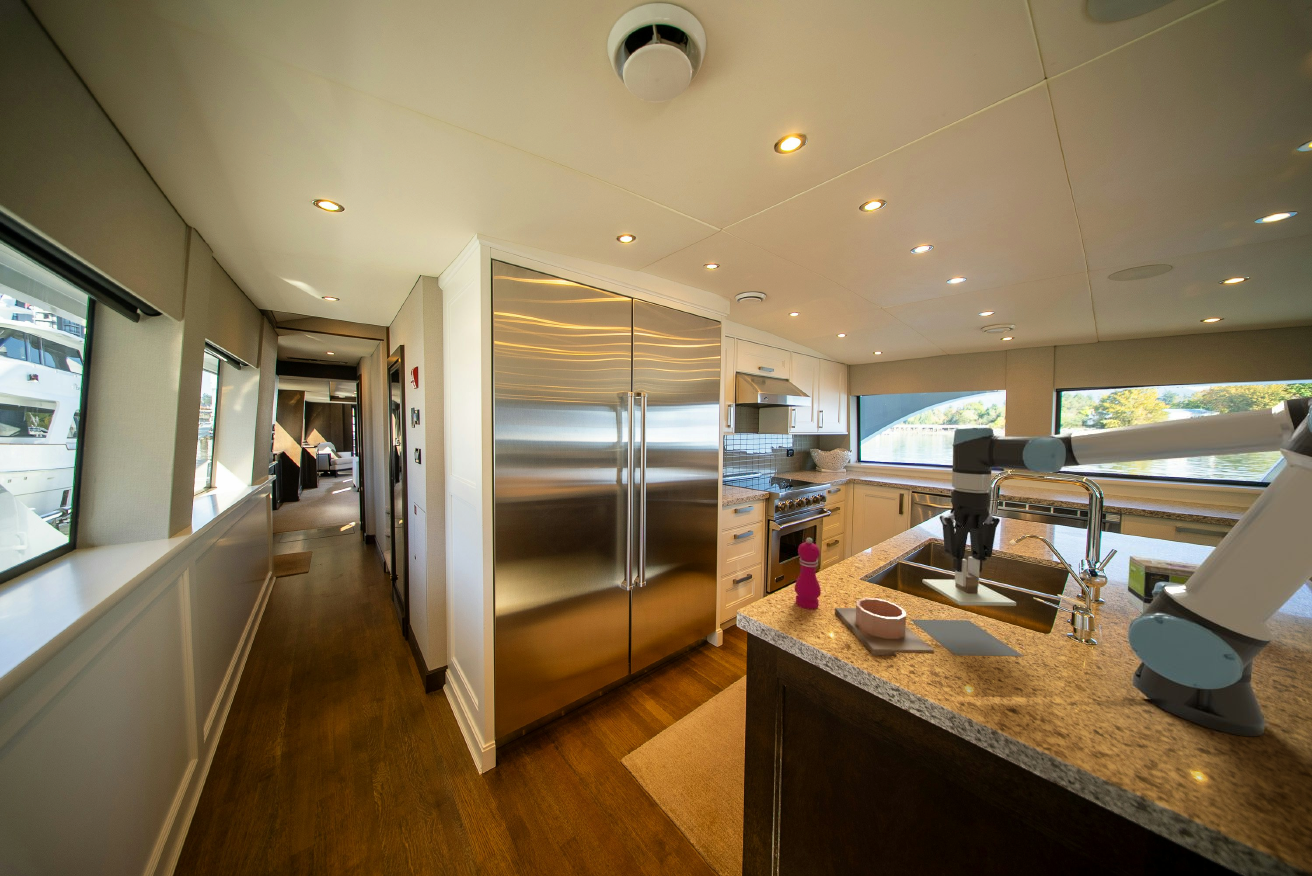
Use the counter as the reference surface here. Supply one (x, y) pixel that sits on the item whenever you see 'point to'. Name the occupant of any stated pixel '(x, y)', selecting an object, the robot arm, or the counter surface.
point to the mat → (965, 638)
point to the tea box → (1154, 578)
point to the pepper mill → (808, 576)
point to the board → (882, 644)
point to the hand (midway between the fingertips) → (966, 583)
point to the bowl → (880, 618)
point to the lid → (969, 592)
